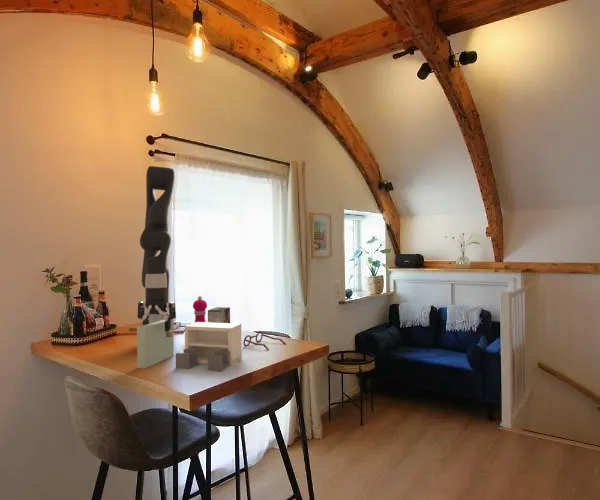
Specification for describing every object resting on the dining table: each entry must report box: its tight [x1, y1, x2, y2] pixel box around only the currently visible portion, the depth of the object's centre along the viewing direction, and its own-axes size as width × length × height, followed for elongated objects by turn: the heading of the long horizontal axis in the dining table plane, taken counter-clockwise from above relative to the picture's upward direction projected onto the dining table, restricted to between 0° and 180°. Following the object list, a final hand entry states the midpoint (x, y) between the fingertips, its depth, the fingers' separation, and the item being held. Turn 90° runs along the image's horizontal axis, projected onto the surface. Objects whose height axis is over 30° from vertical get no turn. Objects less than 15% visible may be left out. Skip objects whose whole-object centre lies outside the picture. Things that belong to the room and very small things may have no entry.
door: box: [136, 319, 175, 369], centre depth 155 cm, size 18×5×14 cm, turn 165°
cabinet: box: [175, 321, 243, 372], centre depth 152 cm, size 18×16×13 cm
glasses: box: [243, 331, 287, 351], centre depth 179 cm, size 13×13×5 cm
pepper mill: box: [192, 295, 208, 323], centre depth 187 cm, size 7×7×20 cm
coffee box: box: [207, 306, 231, 323], centre depth 176 cm, size 9×6×16 cm
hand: (156, 330), depth 155 cm, fingers open, 8 cm apart
